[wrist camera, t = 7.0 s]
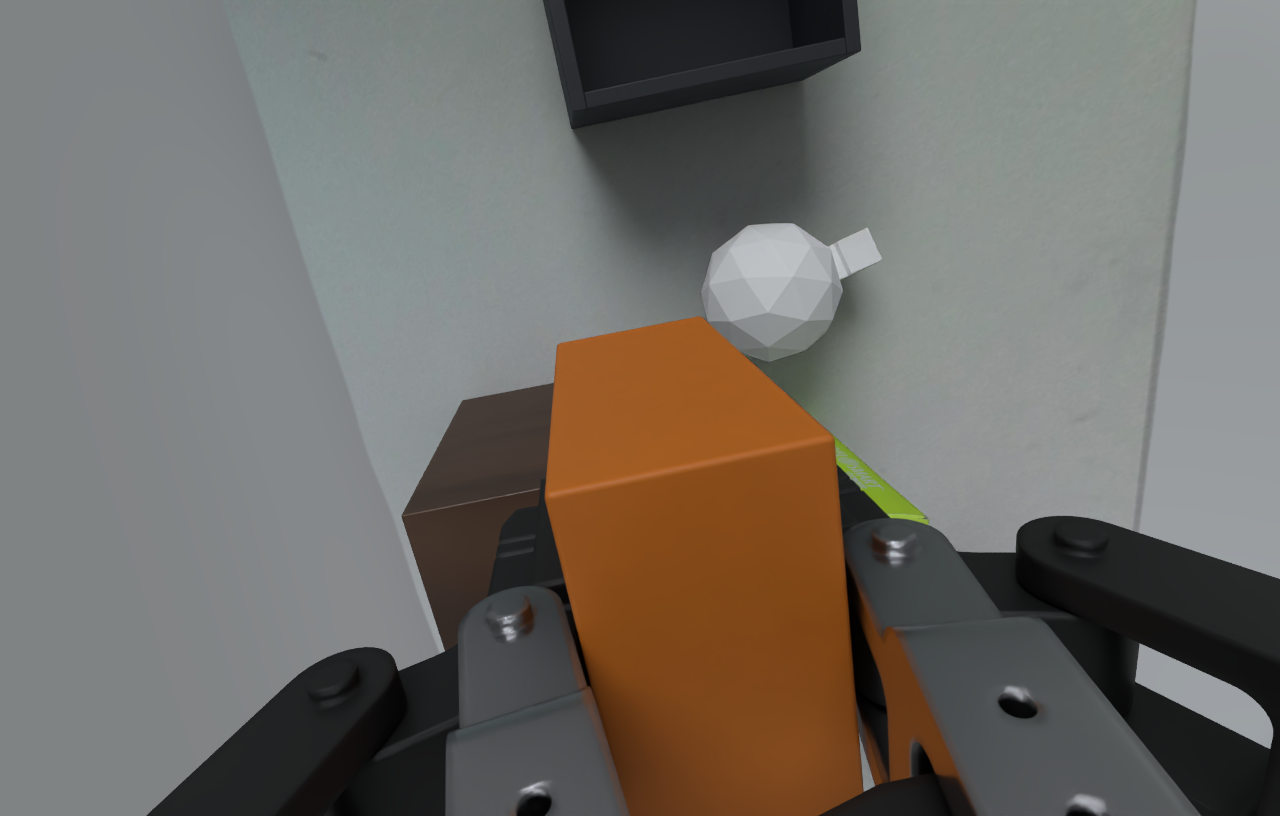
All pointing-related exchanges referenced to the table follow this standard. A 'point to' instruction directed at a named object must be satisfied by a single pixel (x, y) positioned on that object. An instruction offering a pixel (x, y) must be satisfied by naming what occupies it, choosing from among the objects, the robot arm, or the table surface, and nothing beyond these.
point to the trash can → (689, 50)
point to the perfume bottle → (780, 287)
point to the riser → (476, 496)
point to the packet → (704, 575)
